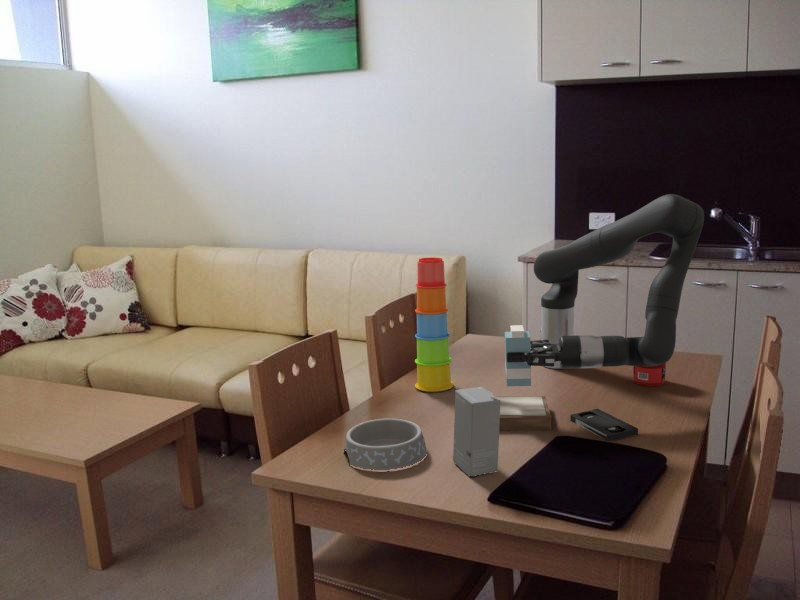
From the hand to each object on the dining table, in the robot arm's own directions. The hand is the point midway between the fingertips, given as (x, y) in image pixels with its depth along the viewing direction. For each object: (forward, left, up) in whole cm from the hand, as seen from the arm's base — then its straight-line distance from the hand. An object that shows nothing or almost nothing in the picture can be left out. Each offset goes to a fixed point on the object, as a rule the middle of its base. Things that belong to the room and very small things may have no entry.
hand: (506, 353), depth 176 cm
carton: (+1, +2, -7) cm, 7 cm away
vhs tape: (+14, +17, -17) cm, 27 cm away
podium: (+1, +2, -16) cm, 16 cm away
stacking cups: (-29, -7, -16) cm, 34 cm away
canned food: (-7, +45, -16) cm, 49 cm away
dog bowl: (+6, -33, -16) cm, 37 cm away
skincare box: (+21, -18, -16) cm, 32 cm away
